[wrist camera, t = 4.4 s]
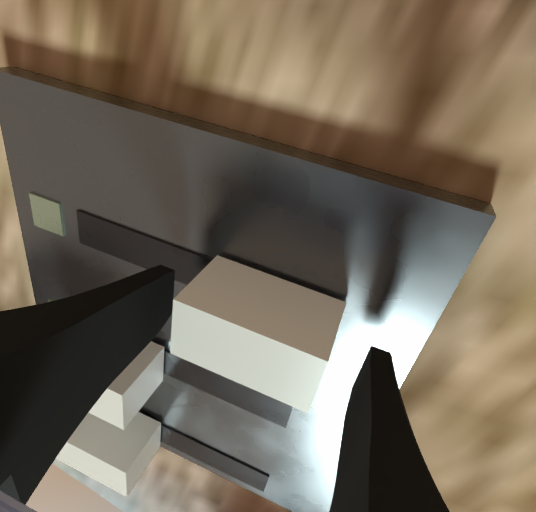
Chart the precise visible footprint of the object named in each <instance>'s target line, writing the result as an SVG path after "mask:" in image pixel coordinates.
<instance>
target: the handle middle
mask: <svg viewBox="0 0 536 512" xmlns="http://www.w3.org/2000/svg"><path fill="white" fill-rule="evenodd" d="M163 368H164V347H163V346H161V345H159V344H156V343H154V342H152V341H151V342H150V343H149V344H148V345H147V346H146V347H145V348H144V349H143V350H142V352H141V353H140V354H139V355H138V356H137V357H136V358H135V359H134V360H133V361H132V362H131V363H130V364H129V365H128V366H127V367H126V368H125V369H124V370H123V371H122V373H121V374H120V375H119V376H118V377H117V378H116V379H115V380H114V381H113V382H112V383H111V385H110V386H109V387H108V388H107V389H106V390H105V392H104V393H103V394H102V395H101V397H100V398H99V399H98V401H97V402H96V403H95V404H94V406H93V407H92V408H91V410H90V411H89V412H88V413H90V414H92V415H94V416H96V417H98V418H100V419H102V420H104V421H106V422H108V423H110V424H112V425H114V426H116V427H118V428H120V429H122V430H124V429H125V428H126V427H127V425H128V424H129V423H130V422H131V420H132V419H133V418H134V417H135V415H136V414H137V413H138V411H139V410H140V409H141V408H142V406H143V405H144V404H145V403H146V401H147V400H148V399H149V397H150V396H151V395H152V394H153V392H154V391H155V390H156V389H157V387H158V386H159V385H160V383H161V382H162V381H163Z"/></svg>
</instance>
